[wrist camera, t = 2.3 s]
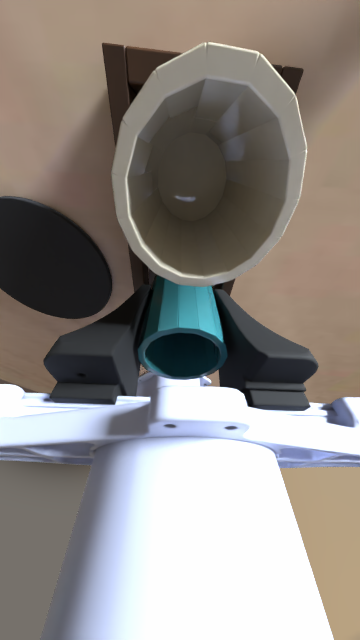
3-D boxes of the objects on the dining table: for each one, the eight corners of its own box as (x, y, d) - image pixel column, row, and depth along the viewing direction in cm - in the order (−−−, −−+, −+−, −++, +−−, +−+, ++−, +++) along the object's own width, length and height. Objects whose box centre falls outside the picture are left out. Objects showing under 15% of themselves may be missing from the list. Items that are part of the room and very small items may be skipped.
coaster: (76, 329, 19) (73, 332, 18) (-44, 261, 14) (-50, 264, 13) (136, 278, 15) (135, 281, 14) (-5, 150, 9) (-12, 149, 9)
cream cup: (184, 238, 12) (187, 307, 6) (137, 174, 10) (72, 191, 4) (243, 188, 10) (324, 224, 4) (201, 94, 8) (258, -94, 2)
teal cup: (178, 308, 17) (176, 387, 11) (144, 275, 14) (118, 354, 8) (218, 282, 15) (242, 362, 9) (187, 240, 12) (192, 311, 7)
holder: (142, 309, 17) (138, 325, 15) (118, 67, 7) (101, 41, 6) (215, 314, 17) (218, 329, 16) (279, 86, 8) (305, 67, 6)
